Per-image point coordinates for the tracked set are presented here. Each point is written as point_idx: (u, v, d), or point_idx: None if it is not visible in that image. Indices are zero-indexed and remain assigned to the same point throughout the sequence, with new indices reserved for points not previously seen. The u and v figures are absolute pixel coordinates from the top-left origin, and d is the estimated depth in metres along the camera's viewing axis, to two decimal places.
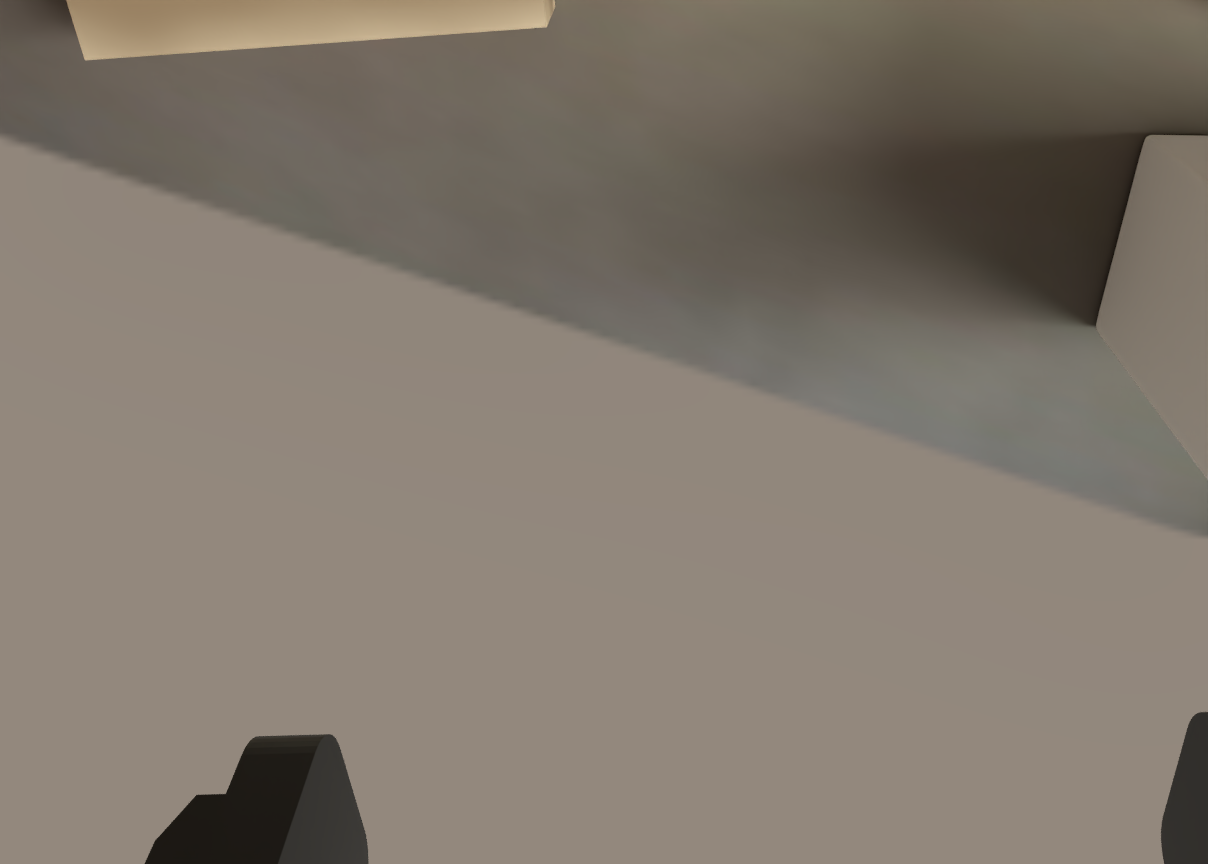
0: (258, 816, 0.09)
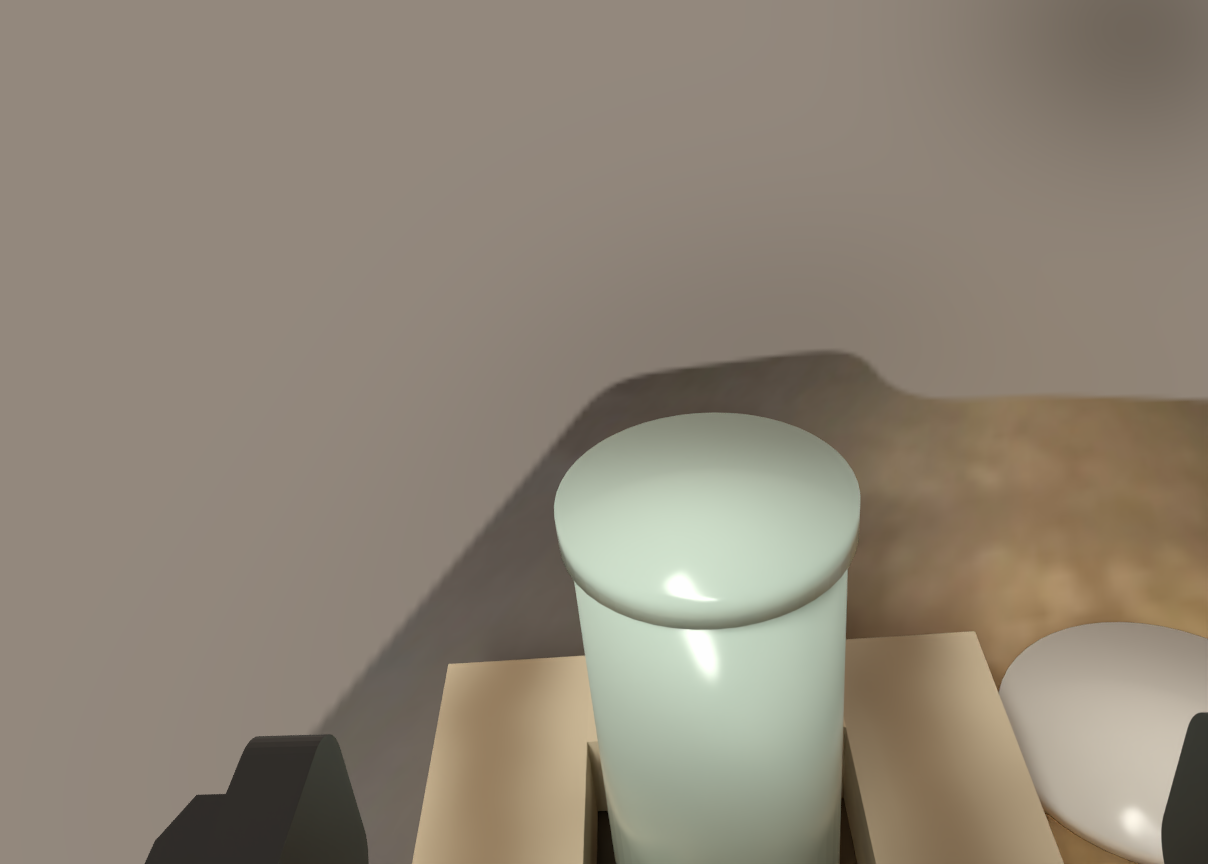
0: (258, 816, 0.09)
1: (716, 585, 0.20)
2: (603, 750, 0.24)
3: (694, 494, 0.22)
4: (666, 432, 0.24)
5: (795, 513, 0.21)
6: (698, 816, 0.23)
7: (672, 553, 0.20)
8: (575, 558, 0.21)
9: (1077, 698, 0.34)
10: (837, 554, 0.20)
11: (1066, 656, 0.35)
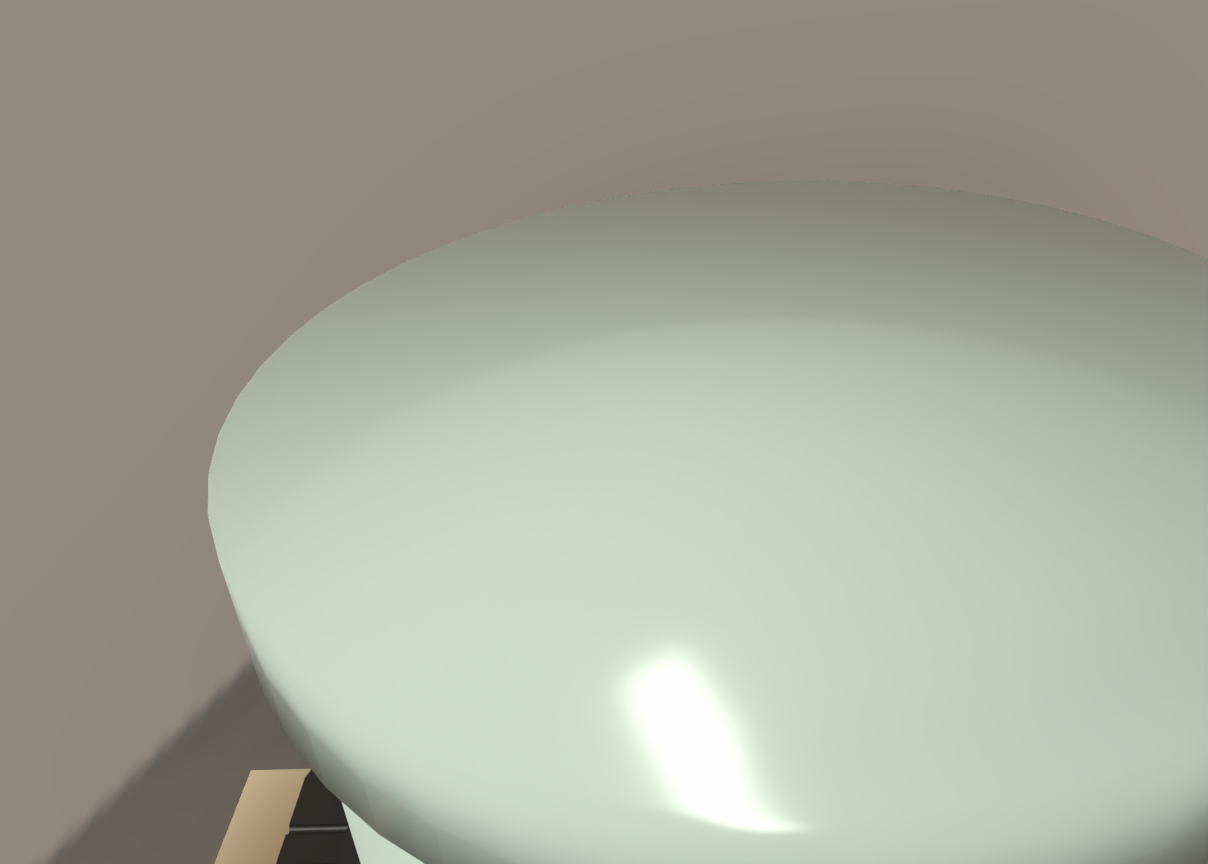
0: None
1: (849, 753, 0.04)
2: None
3: (729, 370, 0.06)
4: (645, 221, 0.08)
5: (1135, 433, 0.05)
6: None
7: (634, 581, 0.05)
8: (232, 590, 0.05)
9: None
10: None
11: None
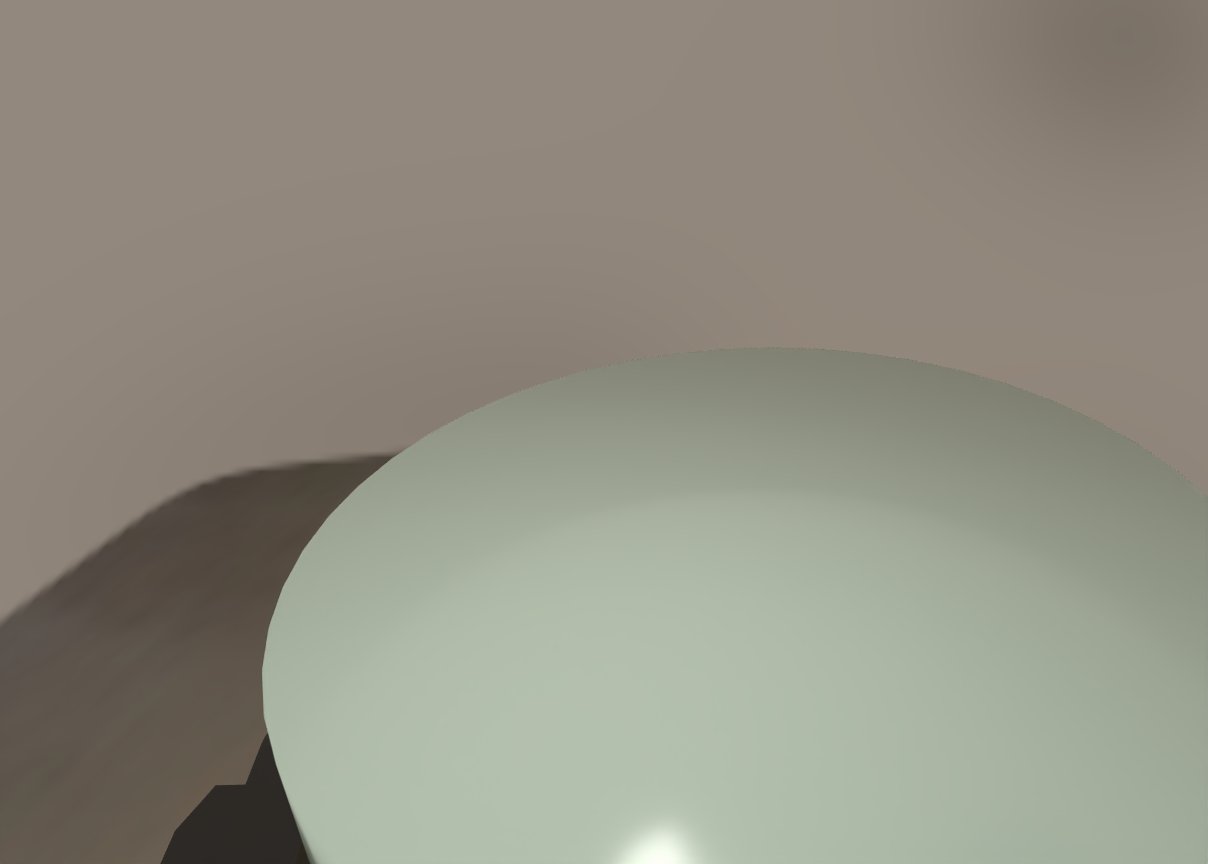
0: (278, 806, 0.09)
1: None
2: None
3: (717, 565, 0.07)
4: (642, 393, 0.09)
5: (1067, 643, 0.06)
6: None
7: (632, 793, 0.05)
8: (287, 792, 0.06)
9: None
10: None
11: None
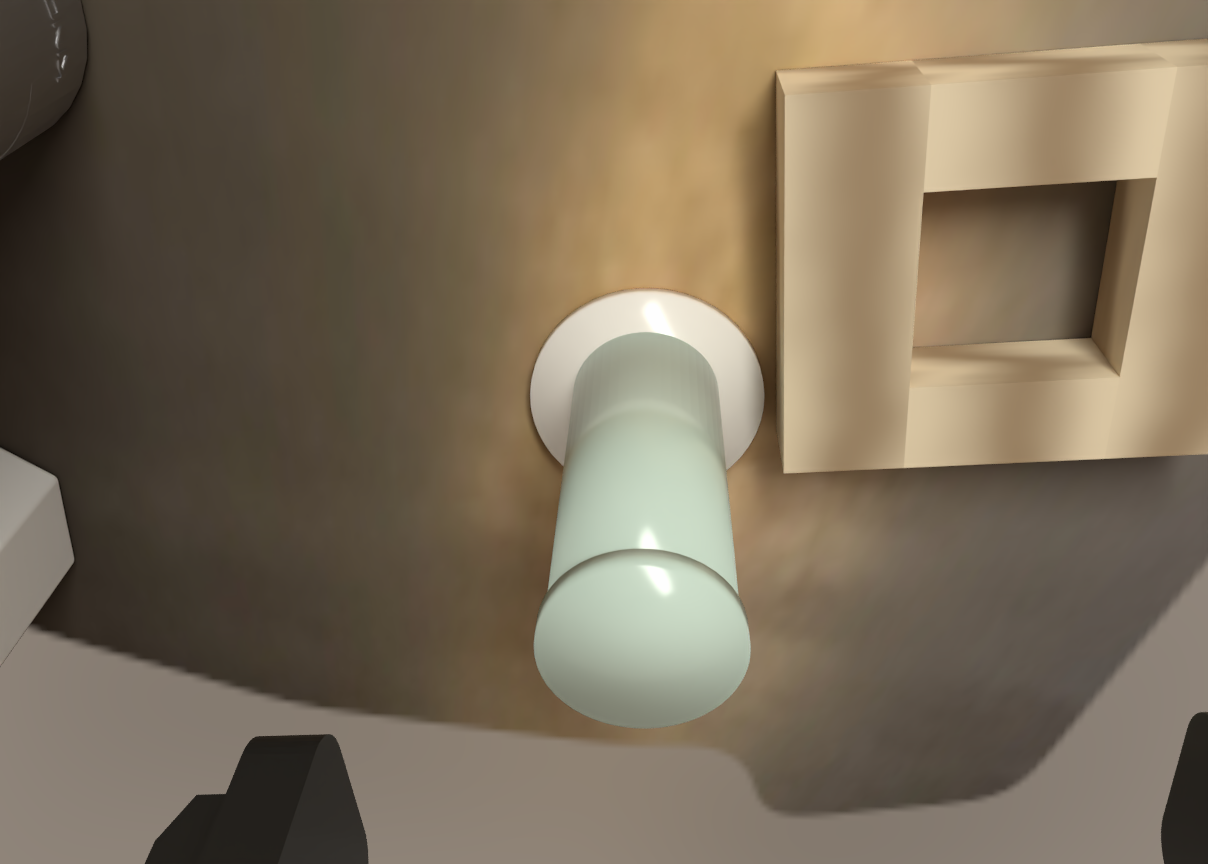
0: (258, 816, 0.09)
1: (633, 575, 0.29)
2: (723, 490, 0.35)
3: (649, 652, 0.31)
4: (671, 710, 0.32)
5: (578, 631, 0.30)
6: (657, 445, 0.35)
7: (663, 602, 0.30)
8: (731, 601, 0.30)
9: None
10: (552, 598, 0.30)
11: None
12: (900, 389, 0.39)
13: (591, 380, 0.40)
